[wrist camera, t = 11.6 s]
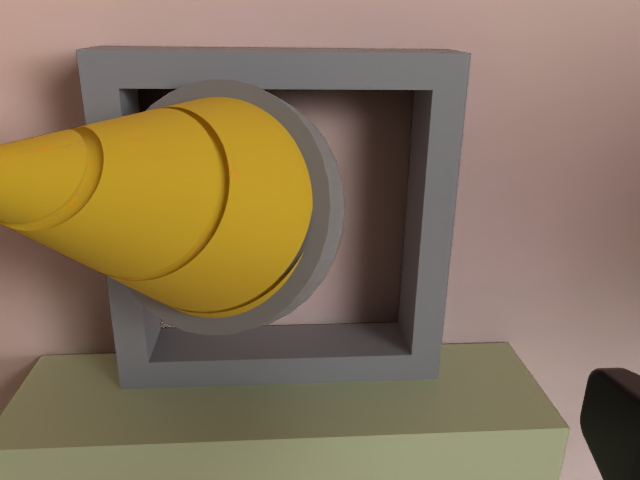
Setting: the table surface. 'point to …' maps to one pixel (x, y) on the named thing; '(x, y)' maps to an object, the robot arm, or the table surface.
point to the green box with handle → (293, 331)
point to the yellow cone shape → (188, 204)
